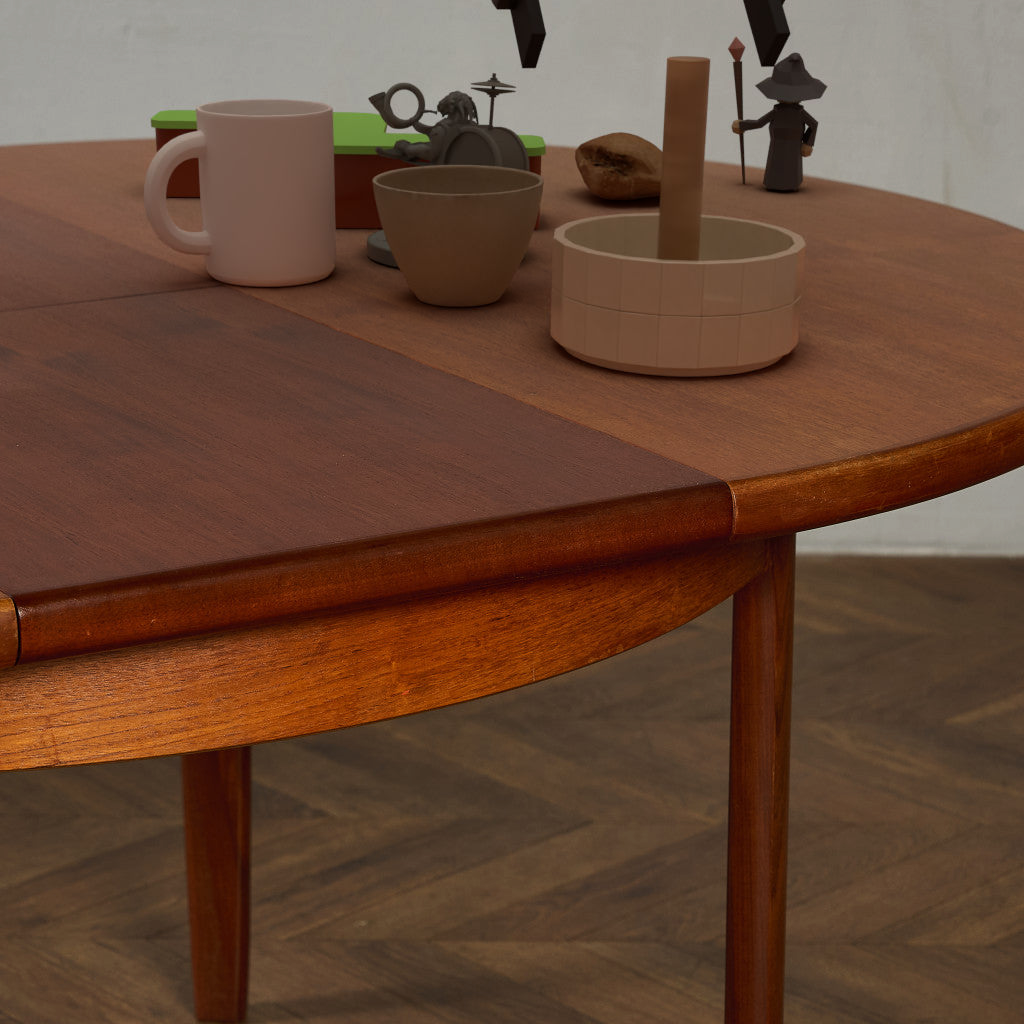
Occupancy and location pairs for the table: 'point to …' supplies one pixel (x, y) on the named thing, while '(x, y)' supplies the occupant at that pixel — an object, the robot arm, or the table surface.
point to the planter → (351, 161)
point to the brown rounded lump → (620, 166)
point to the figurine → (447, 141)
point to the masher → (683, 157)
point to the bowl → (676, 296)
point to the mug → (255, 191)
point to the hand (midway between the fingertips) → (657, 51)
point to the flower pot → (458, 228)
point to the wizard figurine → (781, 118)
